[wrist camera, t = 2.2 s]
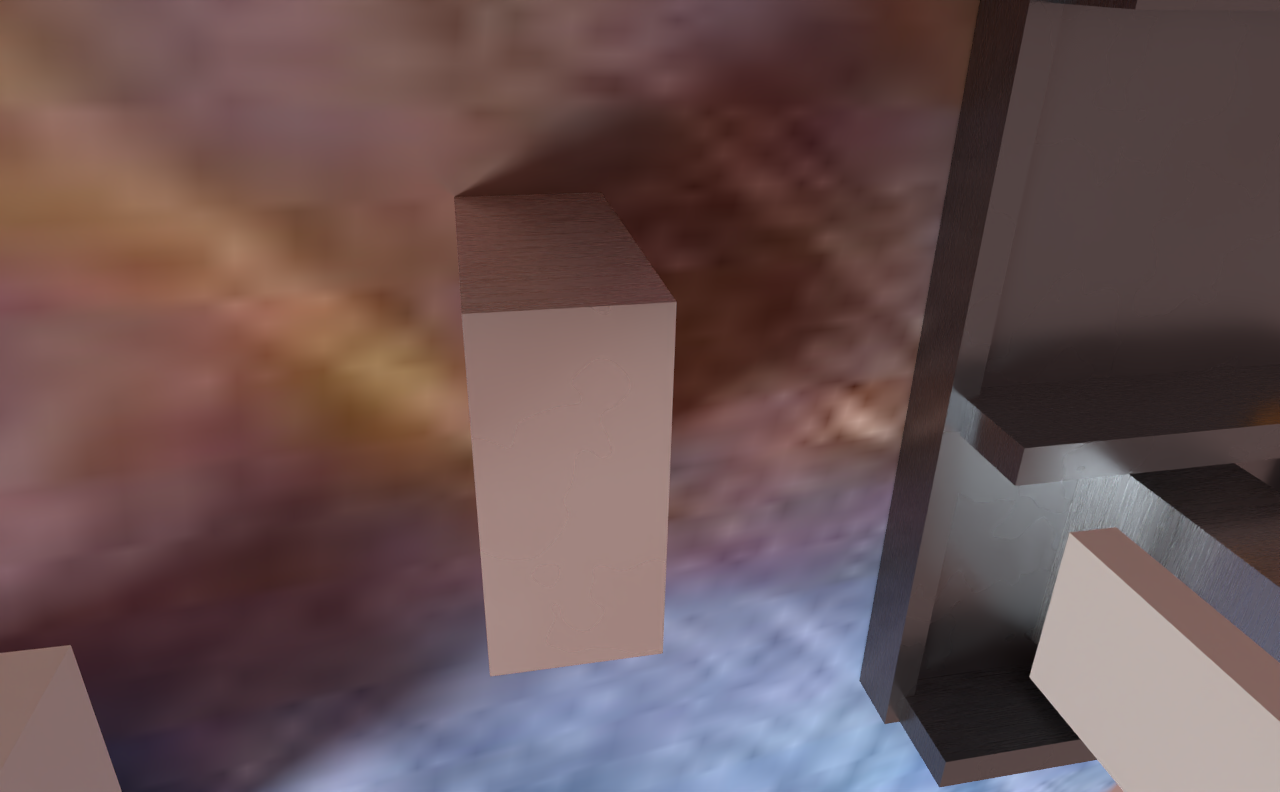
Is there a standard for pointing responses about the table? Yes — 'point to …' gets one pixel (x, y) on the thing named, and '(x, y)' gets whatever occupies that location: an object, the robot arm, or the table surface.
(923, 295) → the table surface
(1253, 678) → the robot arm
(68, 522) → the table surface
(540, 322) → the panel
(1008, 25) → the rack
